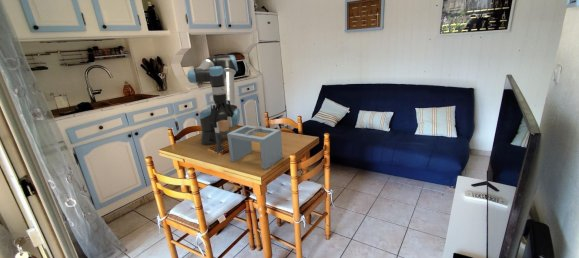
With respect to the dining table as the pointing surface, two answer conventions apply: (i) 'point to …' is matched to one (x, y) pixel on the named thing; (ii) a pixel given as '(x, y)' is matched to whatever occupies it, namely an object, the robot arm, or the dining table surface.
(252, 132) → the hook bar
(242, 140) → the shelf
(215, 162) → the dining table surface
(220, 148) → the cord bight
